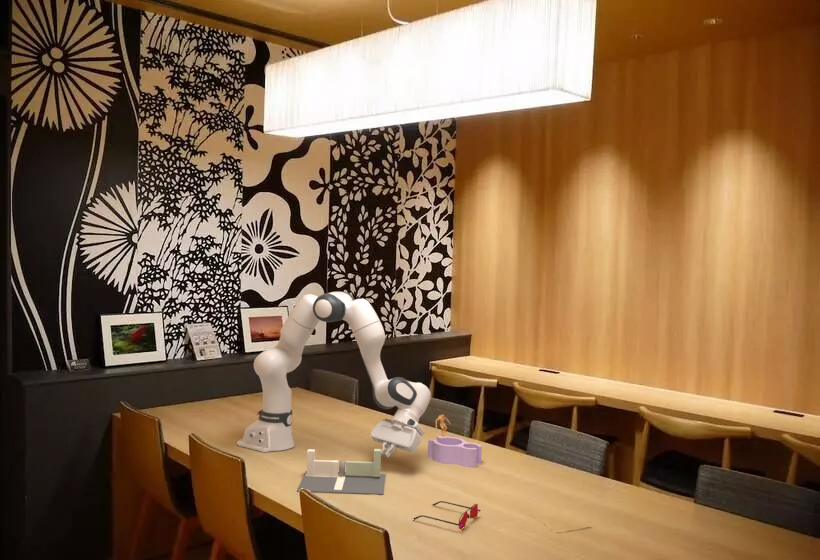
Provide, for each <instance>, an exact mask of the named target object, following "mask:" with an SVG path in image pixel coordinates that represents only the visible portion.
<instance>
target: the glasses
mask: <svg viewBox="0 0 820 560" xmlns="http://www.w3.org/2000/svg"><path fill="white" fill-rule="evenodd" d="M440 503H442V504H443V503H444V504H449V505H451V506H452V505H453V506H457V507H460V508H463V509H464V508H466V509H467V510H466V511H464V512H462V514H461V515H460V517H459V519H458V523H456V522H451V521H449V520H448V521H447V520H444V519H440V518H436V517H432V516H427V515H417V516H416V517H413V518H412V519H414V521H415V520H417V519H419V518H427V519H432V520H435V521H439V522H444V523H447V524H451V525H455V526H458V530H459V529H460V530H461V529H462V528H463V527H464V528H465V527H466V524H467V522H468V519H476V518H475V517H476V516H477V517H478V514H479V512H481V509H480V508H479V507H478V506H479V505H478V503H474V504H473V505H472V506H471V507H469V506H467V505H466V506H465V505H461V504H456V503H452V502H448V501H442V500H441V501H437V502H435V503H433V504H432V505H434V506H436V505H438V504H440ZM478 508H479V509H478ZM468 511H469V513H468Z"/></svg>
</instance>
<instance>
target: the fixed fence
mask: <svg viewBox="0 0 820 560" xmlns="http://www.w3.org/2000/svg"><path fill="white" fill-rule="evenodd" d="M339 461H340V460H337V459H336V460H335V459H334V460H333V459H332V460H327V459H326V460H325V459H324V460H323V459H321V460H320V459H316V449H311V448H310V449H309V448H308V449H307V451H306V471H307V476H314V474H328V475H332V477H338V472H339Z"/></svg>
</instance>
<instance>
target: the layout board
mask: <svg viewBox="0 0 820 560" xmlns="http://www.w3.org/2000/svg"><path fill="white" fill-rule="evenodd" d="M345 474H346V471H345ZM386 475H387V473H380V477H373V476H355V475H339V471H338V477H332V475H328V474H314V476H307V470H306V471H305V472H304V474H303V476H302V479H301V480H300V483H299V485H298V487H297V489H296V493H300V492H299V490H300V489H301V488H304V489H308V490H310V491H311V492H310V493H317V494H342V493H343V494H345V493H346V494H347V495H369V494H378V495H377V496H383V495H384V493H385V483H386ZM343 494H342V495H343ZM346 494H345V495H346Z"/></svg>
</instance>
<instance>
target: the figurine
mask: <svg viewBox="0 0 820 560" xmlns="http://www.w3.org/2000/svg"><path fill="white" fill-rule="evenodd" d="M438 421H439V426H440V428H441V430H440V431H441V434H442V435H441V437H450V436H449V435H448V434H447V433H446V432H447V429H448V427H447V425H446V423H445V421H447V423H449V425H450V426H451V422H450V420H449V419H448V418H447V417H446V416H445V415H444V414H440V415H438V418H436V419H435V429H438V426H437V424H438Z"/></svg>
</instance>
